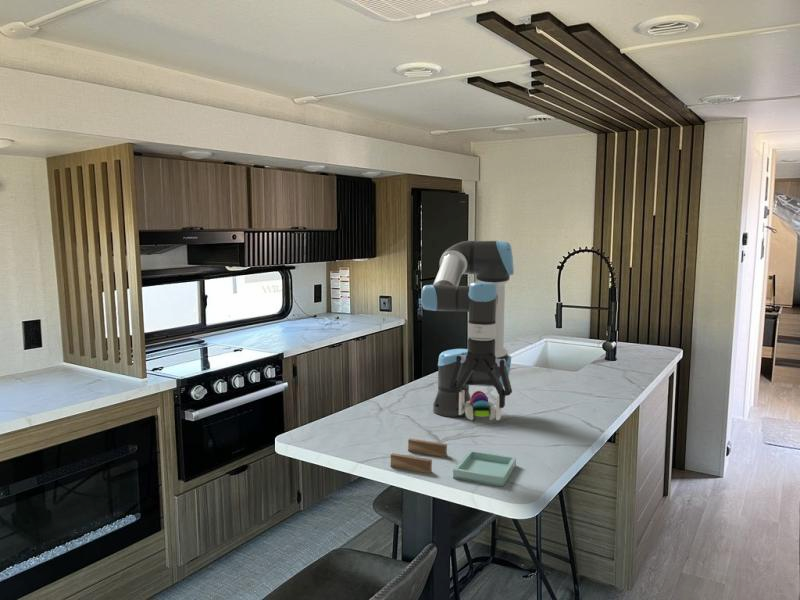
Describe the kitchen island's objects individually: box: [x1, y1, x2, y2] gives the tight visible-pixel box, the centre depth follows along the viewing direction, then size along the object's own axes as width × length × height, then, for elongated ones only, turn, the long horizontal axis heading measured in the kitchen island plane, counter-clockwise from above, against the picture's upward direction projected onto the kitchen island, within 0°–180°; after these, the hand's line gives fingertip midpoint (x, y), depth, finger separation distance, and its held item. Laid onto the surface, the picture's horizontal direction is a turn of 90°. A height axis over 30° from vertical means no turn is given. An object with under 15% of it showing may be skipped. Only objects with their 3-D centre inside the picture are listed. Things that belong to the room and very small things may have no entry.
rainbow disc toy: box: [464, 390, 496, 421], centre depth 169 cm, size 8×10×7 cm
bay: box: [390, 438, 448, 474], centre depth 179 cm, size 15×12×4 cm
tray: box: [452, 449, 517, 488], centre depth 171 cm, size 16×14×2 cm
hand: (479, 416), depth 170 cm, fingers closed on rainbow disc toy, 10 cm apart
